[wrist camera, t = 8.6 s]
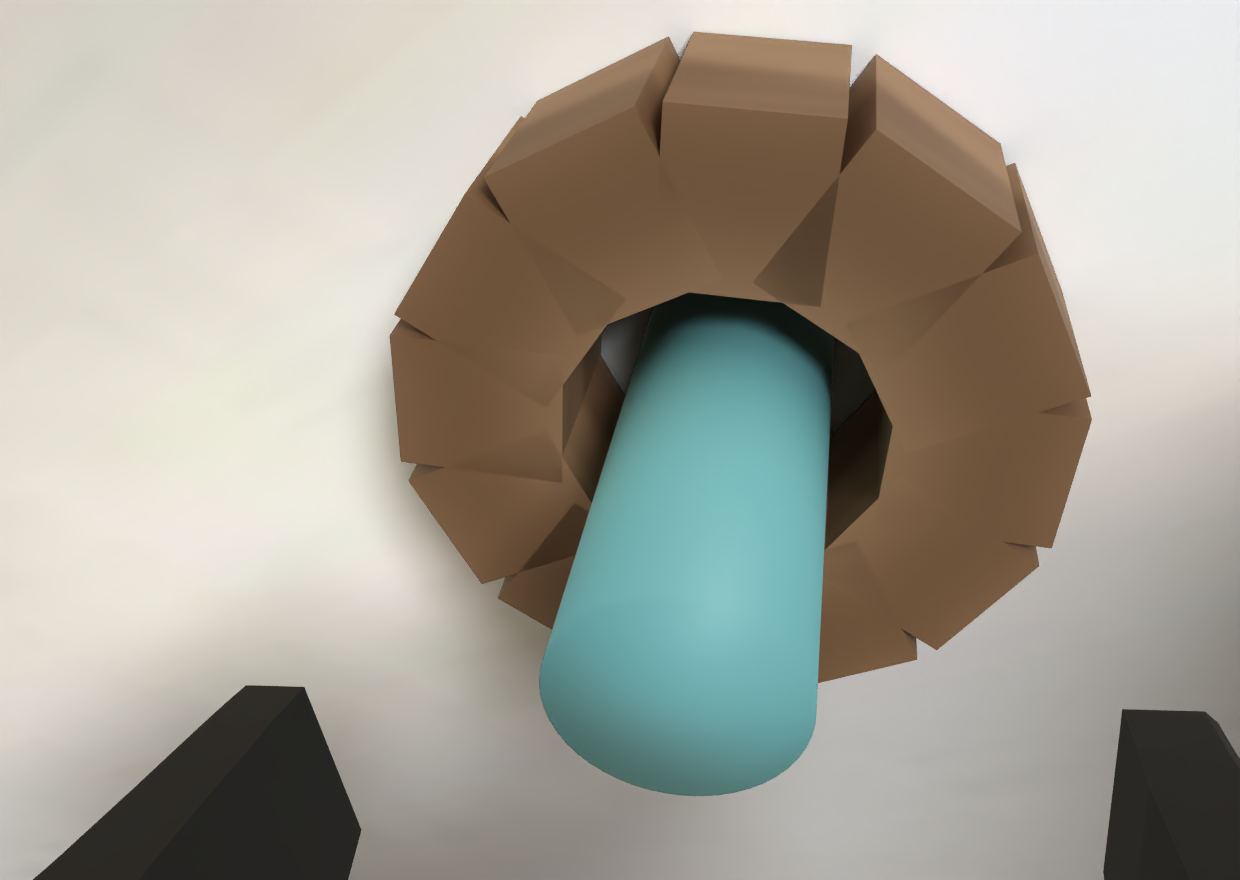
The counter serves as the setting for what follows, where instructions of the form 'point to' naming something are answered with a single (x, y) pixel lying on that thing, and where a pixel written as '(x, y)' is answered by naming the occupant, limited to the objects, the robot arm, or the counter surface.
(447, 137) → the counter surface
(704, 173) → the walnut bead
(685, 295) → the capsule peg
